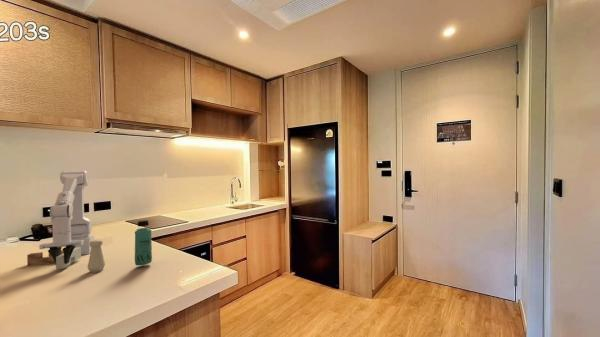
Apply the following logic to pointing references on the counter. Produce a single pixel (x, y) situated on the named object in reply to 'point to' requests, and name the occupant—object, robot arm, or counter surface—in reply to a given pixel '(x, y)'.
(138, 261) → the beverage bottle
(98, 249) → the salt shaker
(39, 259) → the brown flat bar
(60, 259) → the grey rectangular bar
